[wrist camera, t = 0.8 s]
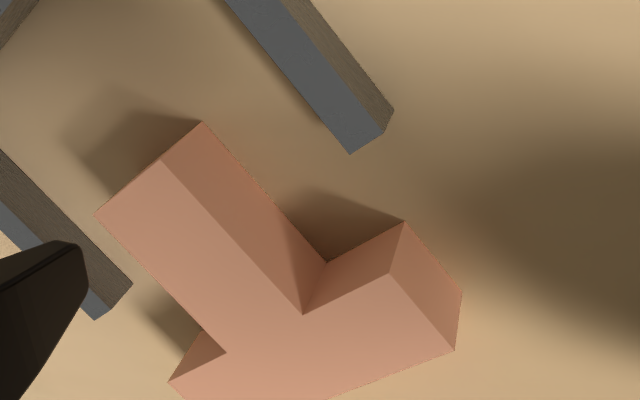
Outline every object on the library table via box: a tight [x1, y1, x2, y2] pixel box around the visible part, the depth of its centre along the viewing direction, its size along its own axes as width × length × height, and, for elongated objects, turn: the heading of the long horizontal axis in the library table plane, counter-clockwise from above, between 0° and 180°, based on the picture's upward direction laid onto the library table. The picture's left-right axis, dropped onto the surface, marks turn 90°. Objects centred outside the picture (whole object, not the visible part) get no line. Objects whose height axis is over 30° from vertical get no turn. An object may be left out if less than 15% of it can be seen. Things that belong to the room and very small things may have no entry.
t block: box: [92, 121, 462, 400], centre depth 26 cm, size 12×13×4 cm
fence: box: [0, 0, 394, 320], centre depth 24 cm, size 13×18×2 cm
